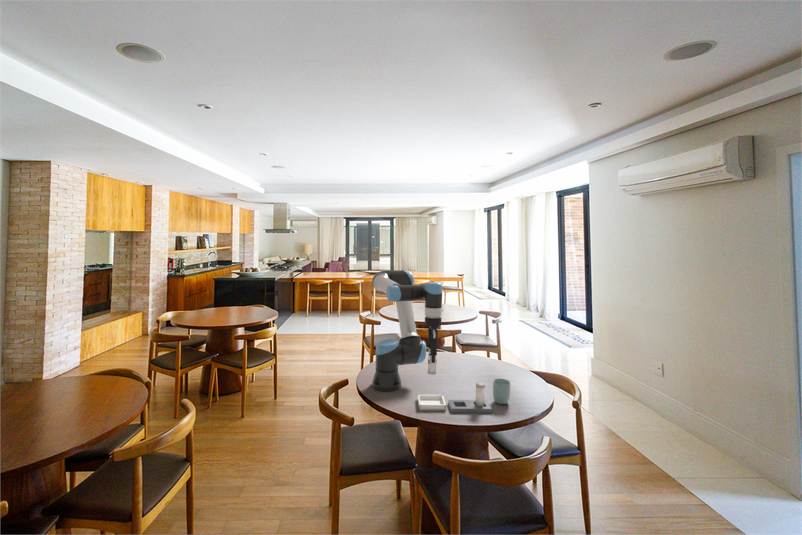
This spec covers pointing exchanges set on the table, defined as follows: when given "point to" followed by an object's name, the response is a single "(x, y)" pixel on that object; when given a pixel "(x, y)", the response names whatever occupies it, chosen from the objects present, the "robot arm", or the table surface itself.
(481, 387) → the cylinder
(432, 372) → the cylinder
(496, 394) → the cup
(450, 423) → the table surface
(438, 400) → the tray
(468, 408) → the holder
